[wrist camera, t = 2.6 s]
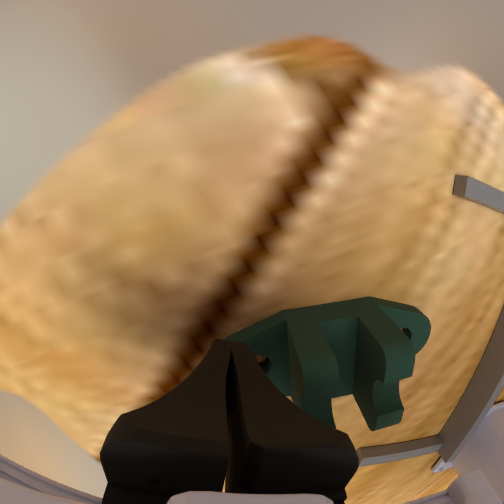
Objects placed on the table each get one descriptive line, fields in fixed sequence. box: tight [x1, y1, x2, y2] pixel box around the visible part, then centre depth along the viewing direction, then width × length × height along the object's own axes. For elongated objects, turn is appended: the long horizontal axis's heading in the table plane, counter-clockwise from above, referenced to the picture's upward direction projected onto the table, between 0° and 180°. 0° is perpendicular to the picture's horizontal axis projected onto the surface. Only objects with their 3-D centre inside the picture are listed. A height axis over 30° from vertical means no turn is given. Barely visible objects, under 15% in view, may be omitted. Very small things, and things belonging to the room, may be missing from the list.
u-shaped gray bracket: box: [357, 175, 504, 466], centre depth 14 cm, size 8×19×2 cm, turn 171°
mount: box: [224, 297, 431, 431], centre depth 12 cm, size 11×4×5 cm, turn 96°
